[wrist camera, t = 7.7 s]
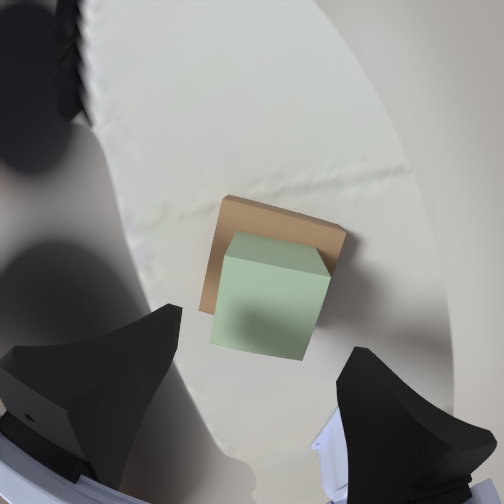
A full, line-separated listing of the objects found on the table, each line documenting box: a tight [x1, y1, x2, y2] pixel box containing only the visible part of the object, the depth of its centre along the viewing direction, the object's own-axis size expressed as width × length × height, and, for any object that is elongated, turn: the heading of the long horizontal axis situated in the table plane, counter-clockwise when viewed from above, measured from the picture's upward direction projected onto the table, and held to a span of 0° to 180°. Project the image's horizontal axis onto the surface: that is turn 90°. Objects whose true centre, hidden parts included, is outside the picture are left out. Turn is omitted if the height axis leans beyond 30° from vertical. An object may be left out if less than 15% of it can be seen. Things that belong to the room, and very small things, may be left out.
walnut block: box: [199, 195, 346, 315], centre depth 20 cm, size 8×8×3 cm
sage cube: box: [210, 231, 331, 361], centre depth 16 cm, size 5×5×5 cm
